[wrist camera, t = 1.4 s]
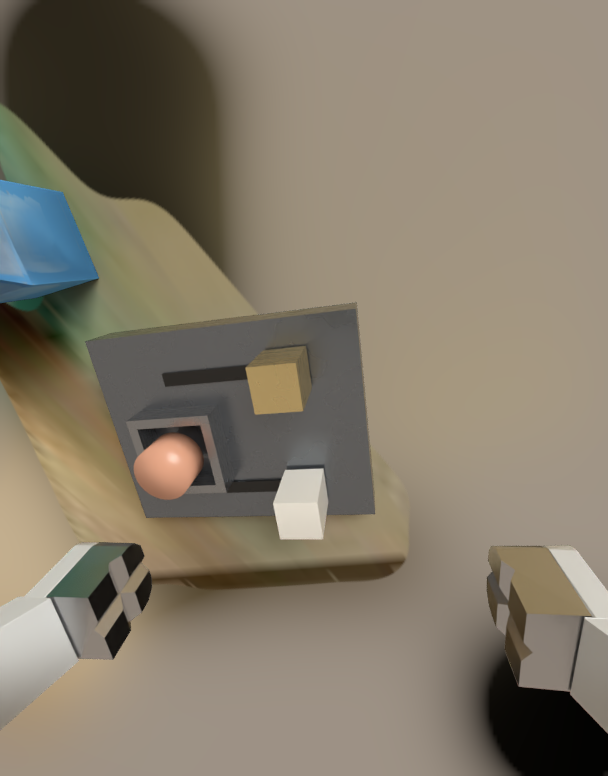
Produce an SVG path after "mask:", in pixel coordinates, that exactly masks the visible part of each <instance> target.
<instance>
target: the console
mask: <svg viewBox="0 0 608 776" xmlns="http://www.w3.org/2000/svg"><path fill="white" fill-rule="evenodd" d="M85 343H86V346H87V348H88V351H89V354H90V357H91V360H92V363H93V366H94V369H95V372H96V374H97V377H98V380H99V383H100V386H101V389H102V392H103V395H104V397H105V400H106V403H107V406H108V409H109V412H110V415H111V418H112V420H113V423H114V426H115V429H116V432H117V435H118V438H119V441H120V444H121V446H122V449H123V452H124V455H125V458H126V461H127V464H128V467H129V469H130V472H131V475H132V478H133V481H134V484H135V487H136V490H137V493H138V495H139V498H140V501H141V504H142V507H143V510H144V513H145V516H146V518H155V517H221V516H275V511H274V506H273V502H274V499H275V497H276V494H277V491H278V488H279V485H280V482H281V480H282V477H283V474H284V471H285V470H298V469H324V475H325V482H326V489H327V496H328V507H327V515H352V514H375V498H374V484H373V473H372V462H371V451H370V440H369V431H368V419H367V408H366V397H365V387H364V376H363V365H362V354H361V343H360V332H359V322H358V311H357V303H349V304H340V305H332V306H324V307H317V308H308V309H300V310H292V311H284V312H276V313H268V314H260V315H252V316H244V317H236V318H228V319H220V320H212V321H204V322H196V323H188V324H180V325H172V326H164V327H156V328H148V329H140V330H132V331H124V332H116V333H110V334H107V335H104V336H101V337H98V338H95V339H92V340H88V341H85ZM299 346H306V349H307V356H308V363H309V370H310V377H311V384H312V389H311V392H310V395H309V397H308V400H307V403H306V405H305V408H304V411H300V412H286V413H272V414H258V415H255V413H254V408H253V403H252V398H251V393H250V388H249V383H248V378H247V373H246V367H247V366H248V365H249V364H250V363H251V362H252V361H253V360H254V359H255V358H256V357H257V356H258V355H259V354H260V353H261V352H262V351H263V350H271V349H280V348H290V347H299ZM170 432H176V433H181V434H184V435H186V436H188V437H190V438H191V439H193V440H194V441H195V442H196V443H197V444H198V446H199V447H200V449H201V451H202V453H203V457H204V465H203V468H202V470H201V472H200V473H199V474H198V476H197V477H196V478H195V480H194V481H193V482H192V484H191V485H190V486H189V488H188V489H187V491H186V492H185V493H184V494H183V495H182V496H180V497H179V498H176V499H172V500H164V499H159V498H156V497H154V496H152V495H150V494H149V493H147V492H146V491H145V490H144V489H143V488H142V487H141V486H140V485H139V483H138V482H137V480H136V478H135V474H134V463H135V460H136V459H137V457H138V456H139V455H140V454H141V453H142V452H143V451H144V450H146V449H147V448H148V447H149V446H150V445H151V444H152V443H153V442H154V441H155V440H157V439H158V438H159V437H160V436H161V435H163V434H165V433H170Z"/></svg>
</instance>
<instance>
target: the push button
mask: <svg viewBox="0 0 608 776" xmlns="http://www.w3.org/2000/svg"><path fill="white" fill-rule="evenodd" d="M203 465H204V457H203V453H202V451H201V449H200V447H199V446H198V444H197V443H196V442H195V441H194V440H193V439H191V438H190V437H188V436H186V435H184V434H181V433H176V432H170V433H165V434H163V435H161V436H160V437H159V438H158V439H157V440H155V441H154V442H153V443H152V444H151V445H150V446H149V447H148V448H147V449H146V450H144V451H143V452H142V453H141V454H140V455H139V456H138V457H137V459H136V460H135V463H134V474H135V478H136V480H137V482H138V483H139V485H140V486H141V487H142V488H143V489H144V490H145V491H146V492H147V493H149V494H150V495H152V496H154V497H156V498H159V499H164V500H172V499H176V498H179V497H180V496H182V495H183V494H184V493H185V492H186V491H187V489H188V488H189V486H190V485H191V484H192V482H193V481H194V480H195V478H196V477H197V476H198V474H199V473H200V472H201V470H202V468H203Z"/></svg>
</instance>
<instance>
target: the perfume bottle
mask: <svg viewBox="0 0 608 776" xmlns="http://www.w3.org/2000/svg"><path fill="white" fill-rule="evenodd" d="M98 278H99V277H98V274H97V272H96V270H95V267H94V265H93V263H92V260H91V258H90V256H89V253H88V251H87V248H86V246H85V244H84V241H83V239H82V237H81V234H80V232H79V230H78V227H77V225H76V223H75V220H74V218H73V215H72V213H71V211H70V208H69V206H68V204H67V201H66V199H65V197H64V194H63V192H59V191H54V190H49V189H44V188H39V187H33V186H28V185H23V184H18V183H13V182H8V181H3V180H0V303H4V302H11V301H18V300H25V299H32V298H37V297H41V296H44V295H47V294H51V293H54V292H57V291H60V290H63V289H66V288H70V287H73V286H76V285H79V284H82V283H85V282H89V281H92V280H95V279H98Z"/></svg>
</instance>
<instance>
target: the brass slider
mask: <svg viewBox="0 0 608 776" xmlns="http://www.w3.org/2000/svg"><path fill="white" fill-rule="evenodd" d="M246 373H247V378H248V383H249V388H250V393H251V398H252V403H253V408H254V413H255V415H258V414H272V413H286V412H300V411H304V408H305V405H306V403H307V400H308V397H309V395H310V392H311V389H312V384H311V377H310V370H309V363H308V356H307V349H306V346H299V347H290V348H280V349H271V350H263V351H262V352H261V353H260V354H259V355H258V356H257V357H256V358H255V359H254V360H253V361H252V362H251V363H250V364H249V365H248V366H247V367H246Z"/></svg>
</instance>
